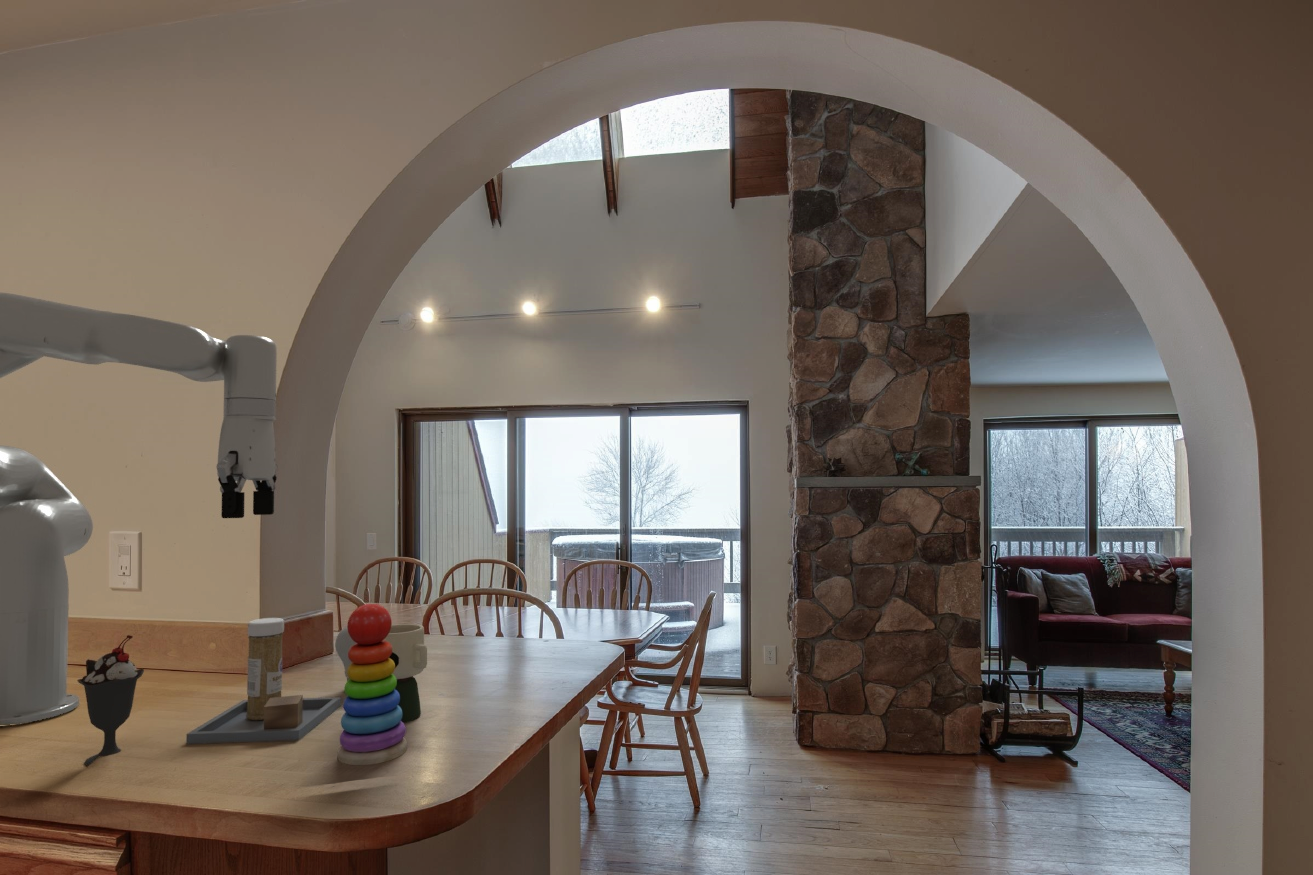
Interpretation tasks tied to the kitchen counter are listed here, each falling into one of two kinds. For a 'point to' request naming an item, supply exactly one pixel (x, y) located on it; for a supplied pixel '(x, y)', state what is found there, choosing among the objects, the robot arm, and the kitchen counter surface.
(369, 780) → the kitchen counter surface
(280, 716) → the walnut block
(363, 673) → the stacking toy
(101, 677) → the sundae
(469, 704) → the kitchen counter surface
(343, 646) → the lightbulb
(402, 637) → the character mug
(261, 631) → the sprinkles bottle
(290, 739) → the slate tray
